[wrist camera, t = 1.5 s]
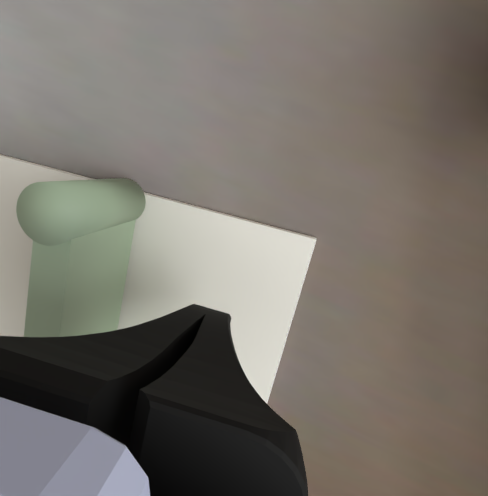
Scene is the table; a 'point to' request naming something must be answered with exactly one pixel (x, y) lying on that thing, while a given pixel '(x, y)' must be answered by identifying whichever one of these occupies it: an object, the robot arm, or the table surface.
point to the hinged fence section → (78, 253)
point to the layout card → (178, 269)
